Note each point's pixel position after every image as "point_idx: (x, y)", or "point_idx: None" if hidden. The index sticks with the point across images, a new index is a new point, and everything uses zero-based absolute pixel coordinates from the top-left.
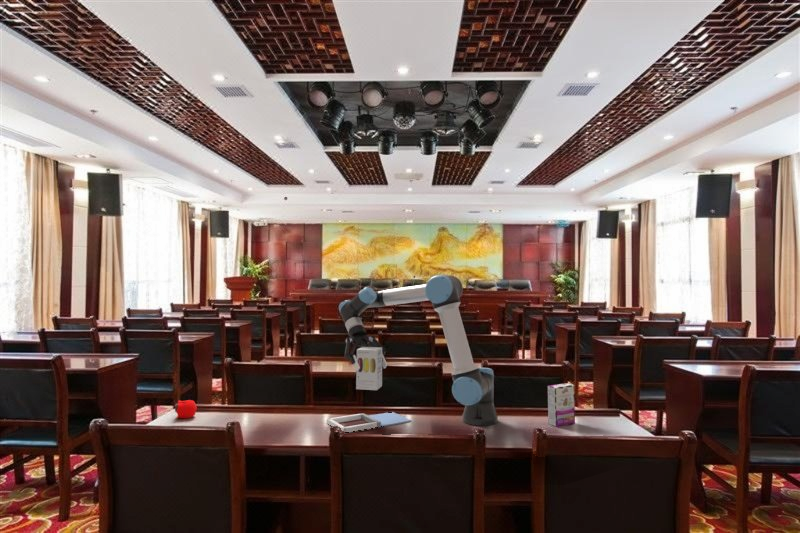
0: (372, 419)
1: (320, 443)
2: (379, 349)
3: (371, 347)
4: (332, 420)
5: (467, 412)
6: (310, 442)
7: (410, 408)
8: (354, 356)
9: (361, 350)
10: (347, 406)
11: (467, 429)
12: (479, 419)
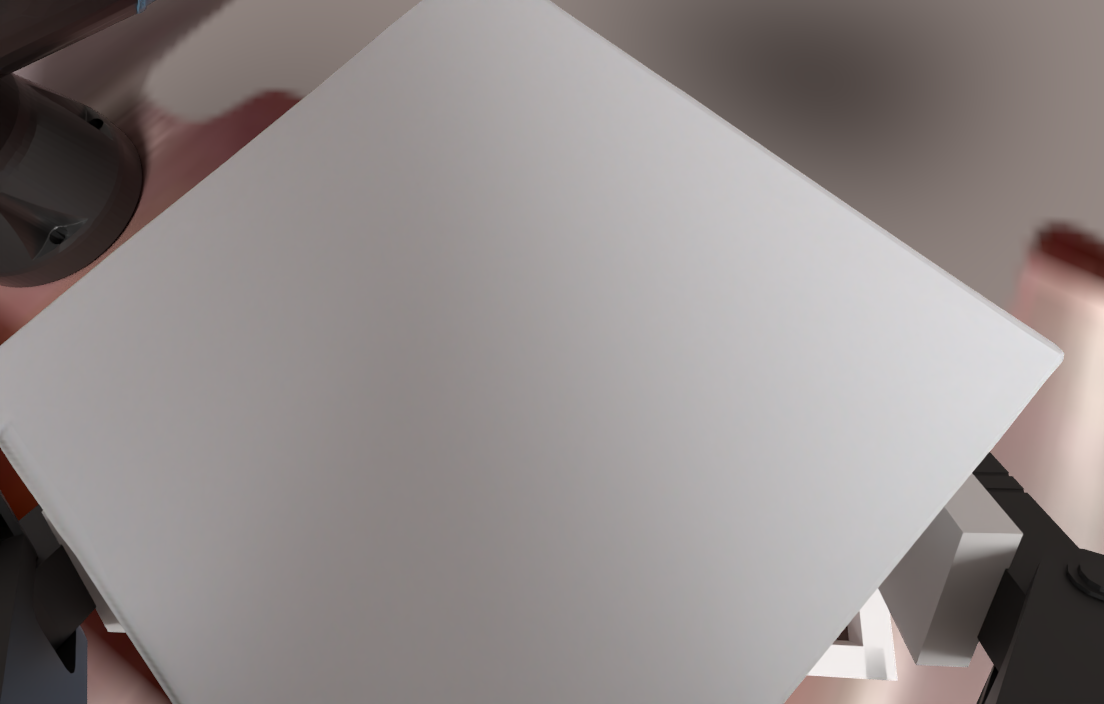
0: None
1: (1034, 290)
2: (283, 128)
3: (283, 520)
4: (868, 601)
5: (83, 164)
6: (1092, 334)
7: (112, 681)
8: (972, 498)
9: (886, 245)
10: None
11: (217, 125)
12: (100, 118)
